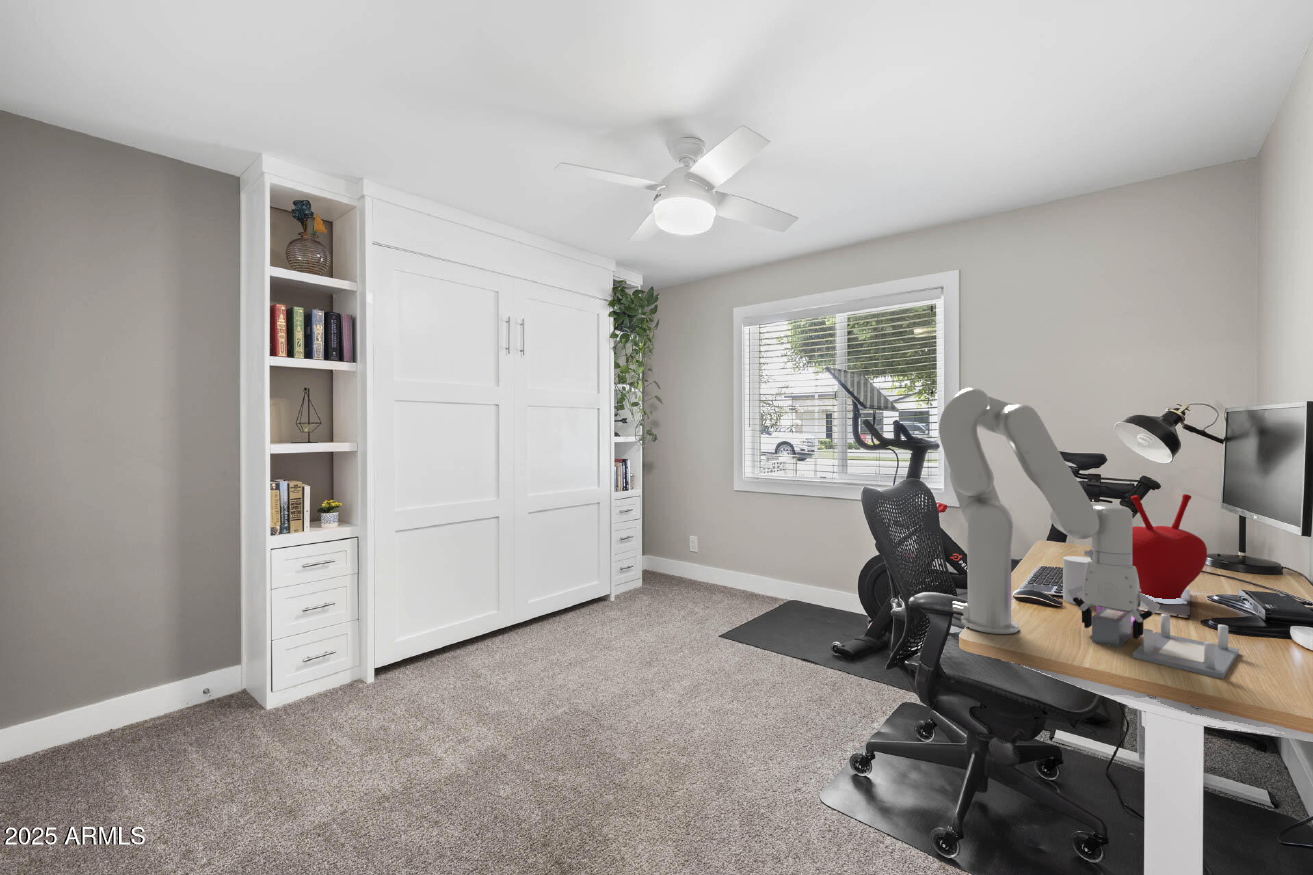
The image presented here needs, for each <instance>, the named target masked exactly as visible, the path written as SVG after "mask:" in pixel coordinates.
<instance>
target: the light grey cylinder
mask: <svg viewBox="0 0 1313 875" xmlns="http://www.w3.org/2000/svg"><path fill="white" fill-rule="evenodd" d="M1089 561H1092V560H1091V558H1090V557H1088V556H1076V555H1070V556H1069V555H1068V556H1063V557H1062V586H1063V587H1062V591H1063V592H1062V596H1063V597H1062V600H1063V601H1064V602H1066V603H1069V604H1072V605H1077V604H1076V603H1075V602H1074V601H1073V599H1072V597H1071V596H1070V594H1069V593H1068V590H1069V589H1071V588H1074V587H1078V586H1081V585H1084V576H1085V570H1086V565H1087V562H1089ZM1078 596H1079V597H1080V598H1081V599H1082V600H1083V591H1081V592H1078ZM1083 601H1084V600H1083ZM1090 607H1095V606H1094V605H1091V606H1090Z"/></svg>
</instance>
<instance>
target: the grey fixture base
mask: <svg viewBox="0 0 1313 875" xmlns="http://www.w3.org/2000/svg"><path fill="white" fill-rule="evenodd" d="M1239 651H1240V649H1239V648H1236V647H1230V646H1229V626H1228V625H1226V624H1217V644H1216V643H1215V642H1212V641H1211V642H1210V641H1201V640H1198V639H1192V638H1188V637H1187V638H1186V637H1182V636H1178V635H1172V634H1171V615H1169V614H1168V613H1167V614H1165V613H1160V632H1159V631H1154V630H1152V629H1148V628H1143V643H1141V644H1140V646H1138V647H1137V648H1136V650H1134V651H1133V652H1132V658H1133V659H1137V660H1140V661H1145V662H1150V663H1153V664H1156V665H1157V664H1158V665H1161V666H1165V667H1169V668H1174V669H1178V670H1179V669H1180V670H1182V669H1184V670H1183V671H1187V672H1192V673H1194V674H1195V673H1196V674H1200V675H1203V676H1207V675H1208V677H1212V678H1216V679H1221V680H1224V678H1225V677H1226V675H1227V674H1228V672H1229V670H1230V669H1231V667H1232V665H1233V664H1234V662H1235V661H1236V659H1237V658H1238V656H1239V653H1240V652H1239Z"/></svg>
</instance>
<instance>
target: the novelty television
mask: <svg viewBox="0 0 1313 875" xmlns="http://www.w3.org/2000/svg"><path fill="white" fill-rule="evenodd" d="M1181 497H1182V498H1181V502H1180V505H1179V508H1178V510H1177V513H1176V516H1175V518H1174V520H1173V523H1172V525H1171V526H1168V525H1166V526H1165V525H1155V526H1153V524H1152V522H1151V521H1150V519H1149V517H1148V515H1147V513H1146V510H1145V509H1144V507H1143V505H1142V503H1141V499H1140V496H1139V495H1137V494H1136V495H1132V496H1130V500H1131V501H1132V502H1133V504H1134V506H1135V508H1136V509H1137V512H1138V514H1139V515H1140V518H1141V520H1142V522H1143V523H1144V526H1138V525H1137V526H1132V566H1135V567H1136V569H1137V573H1138V578H1139V585H1140V593H1143V594H1145V595H1149V596H1152V597H1154V598H1162V599H1176V598H1182V595H1183V593H1184V592H1185V590H1186V589H1187V587H1189V586H1190V585H1191V584H1192V583H1193V582H1194V581H1195V580H1196V579H1197V577H1198V576H1200V574H1201V572H1202V571H1203V569H1204V567H1205V566H1206V565H1205V564H1206V563H1207V558H1208V549H1207V545H1206V543H1205V542H1204V541H1203V539H1201V538H1200V537H1199V536H1197V535H1196V534H1194V533H1192V532H1189V531H1187V530H1184V529H1180V526H1181V523H1182V521H1183V517H1184V516H1185V515H1184V514H1185V511H1186V508H1187V507H1188V504H1189V502H1190V501H1191V500H1192V495H1190V494H1187V493H1184V494H1183V495H1182V496H1181Z"/></svg>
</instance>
